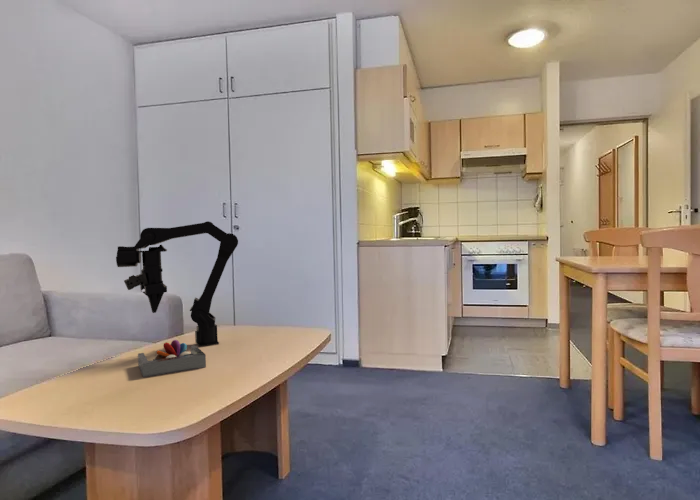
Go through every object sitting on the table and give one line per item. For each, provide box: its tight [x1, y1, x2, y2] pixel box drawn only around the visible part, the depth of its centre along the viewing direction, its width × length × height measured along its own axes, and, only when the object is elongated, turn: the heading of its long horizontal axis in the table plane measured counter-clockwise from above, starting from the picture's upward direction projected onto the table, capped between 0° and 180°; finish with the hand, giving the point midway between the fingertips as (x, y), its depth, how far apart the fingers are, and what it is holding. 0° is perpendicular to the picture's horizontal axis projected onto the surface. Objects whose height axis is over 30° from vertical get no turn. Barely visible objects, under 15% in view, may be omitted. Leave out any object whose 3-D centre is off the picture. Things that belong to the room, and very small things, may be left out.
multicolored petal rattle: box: [154, 339, 191, 359], centre depth 130 cm, size 8×10×7 cm
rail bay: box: [137, 345, 207, 378], centre depth 129 cm, size 16×14×4 cm
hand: (154, 312), depth 152 cm, fingers closed
